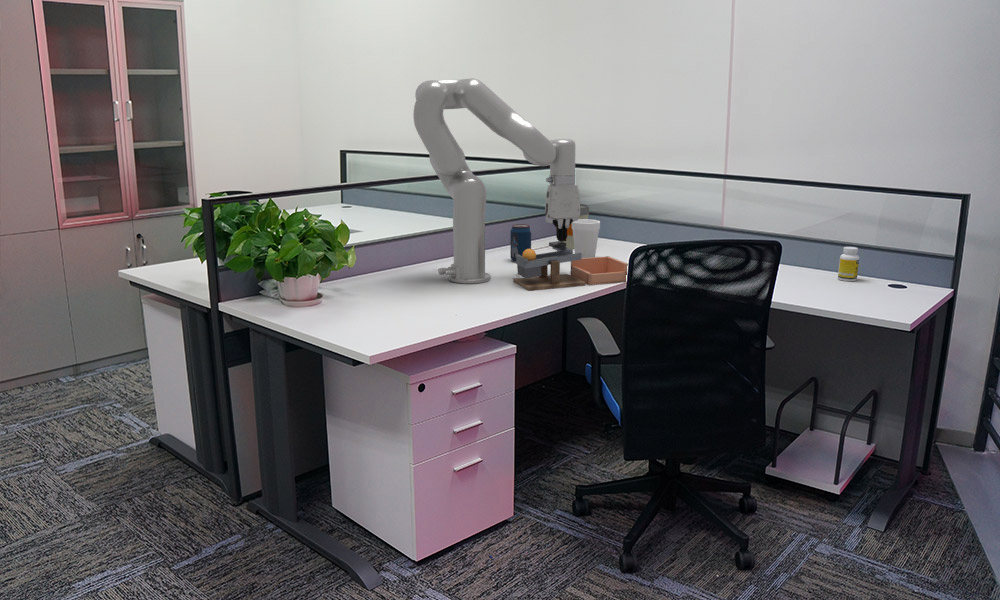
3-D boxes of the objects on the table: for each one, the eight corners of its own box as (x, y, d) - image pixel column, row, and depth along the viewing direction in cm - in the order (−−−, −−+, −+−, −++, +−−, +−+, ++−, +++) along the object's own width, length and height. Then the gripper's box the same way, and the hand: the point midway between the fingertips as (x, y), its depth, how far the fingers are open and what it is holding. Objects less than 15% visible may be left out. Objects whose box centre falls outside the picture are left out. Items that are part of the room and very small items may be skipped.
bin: (588, 285, 243) (588, 266, 242) (570, 276, 254) (570, 259, 253) (627, 281, 248) (627, 263, 246) (608, 273, 259) (608, 256, 257)
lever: (526, 278, 238) (524, 258, 237) (506, 268, 252) (505, 249, 251) (583, 269, 244) (582, 249, 243) (561, 259, 258) (560, 240, 257)
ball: (527, 265, 239) (523, 253, 238) (522, 263, 243) (518, 250, 241) (539, 260, 240) (536, 247, 239) (534, 257, 244) (530, 245, 242)
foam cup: (600, 262, 275) (601, 223, 272) (572, 262, 275) (572, 223, 272) (597, 256, 284) (598, 219, 281) (570, 256, 284) (571, 219, 281)
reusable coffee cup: (579, 251, 294) (580, 209, 290) (548, 247, 300) (548, 206, 297) (594, 245, 304) (595, 204, 301) (563, 242, 311) (564, 202, 307)
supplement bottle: (857, 282, 246) (861, 249, 244) (838, 281, 248) (841, 248, 246) (856, 278, 251) (859, 246, 249) (837, 277, 253) (840, 245, 250)
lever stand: (528, 290, 237) (528, 265, 235) (513, 281, 247) (513, 257, 246) (585, 285, 243) (585, 260, 241) (567, 277, 254) (568, 253, 252)
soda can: (532, 259, 280) (532, 224, 277) (529, 263, 274) (530, 227, 271) (511, 258, 281) (511, 223, 278) (509, 262, 275) (509, 226, 272)
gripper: (544, 183, 244) (544, 244, 249) (590, 180, 249) (589, 241, 254) (534, 180, 251) (534, 240, 255) (579, 178, 256) (578, 237, 261)
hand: (561, 240), depth 255 cm, fingers closed
